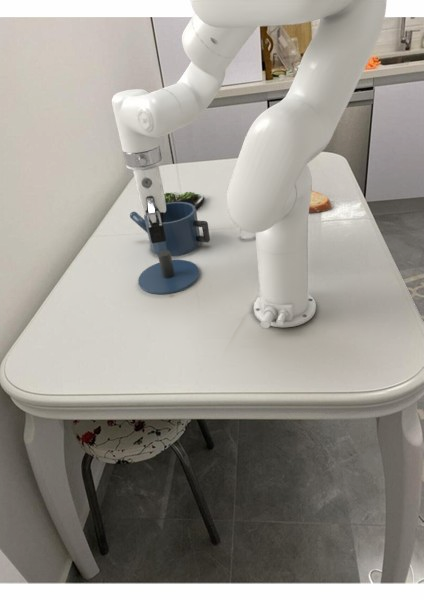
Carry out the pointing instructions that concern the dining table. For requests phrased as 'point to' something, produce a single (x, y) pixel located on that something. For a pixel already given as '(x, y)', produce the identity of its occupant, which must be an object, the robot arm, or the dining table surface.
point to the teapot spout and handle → (203, 224)
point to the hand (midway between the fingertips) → (158, 232)
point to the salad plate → (185, 198)
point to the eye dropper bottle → (247, 234)
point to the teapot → (177, 229)
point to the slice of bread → (319, 203)
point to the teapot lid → (168, 275)
